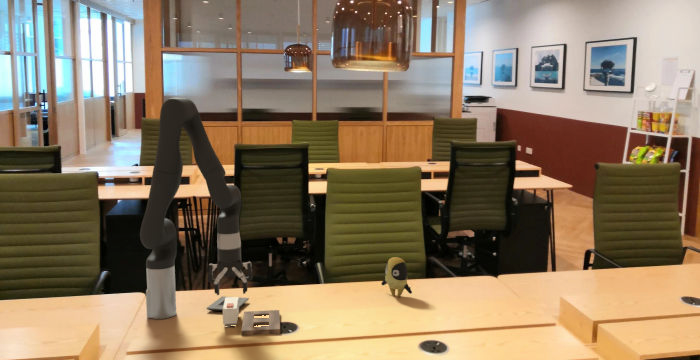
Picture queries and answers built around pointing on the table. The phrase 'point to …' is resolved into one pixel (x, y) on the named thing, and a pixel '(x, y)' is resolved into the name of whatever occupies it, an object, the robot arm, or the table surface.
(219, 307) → the electrical outlet
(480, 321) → the table surface
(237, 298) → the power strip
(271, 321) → the brown wooden slotted board
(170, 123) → the robot arm
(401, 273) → the figurine
